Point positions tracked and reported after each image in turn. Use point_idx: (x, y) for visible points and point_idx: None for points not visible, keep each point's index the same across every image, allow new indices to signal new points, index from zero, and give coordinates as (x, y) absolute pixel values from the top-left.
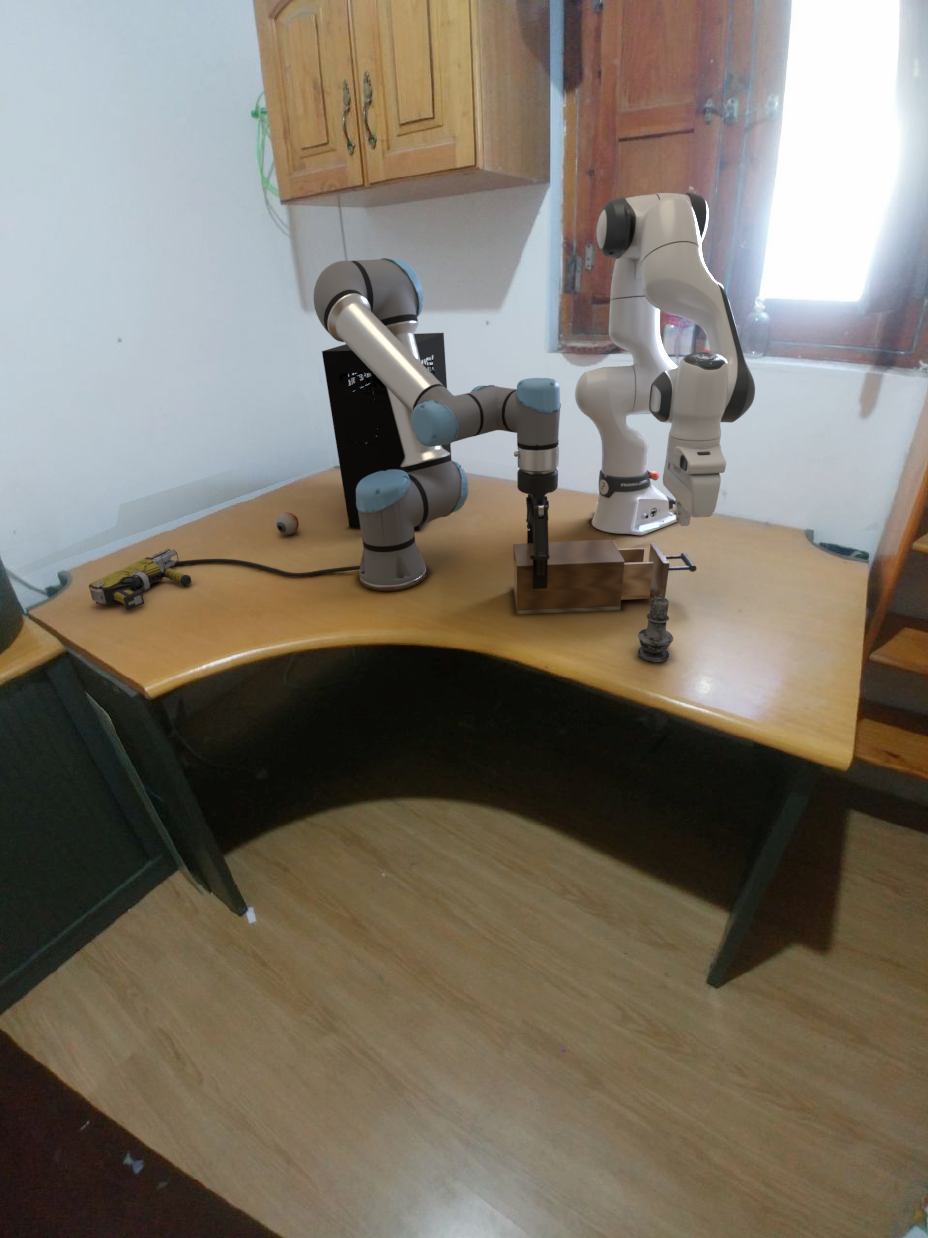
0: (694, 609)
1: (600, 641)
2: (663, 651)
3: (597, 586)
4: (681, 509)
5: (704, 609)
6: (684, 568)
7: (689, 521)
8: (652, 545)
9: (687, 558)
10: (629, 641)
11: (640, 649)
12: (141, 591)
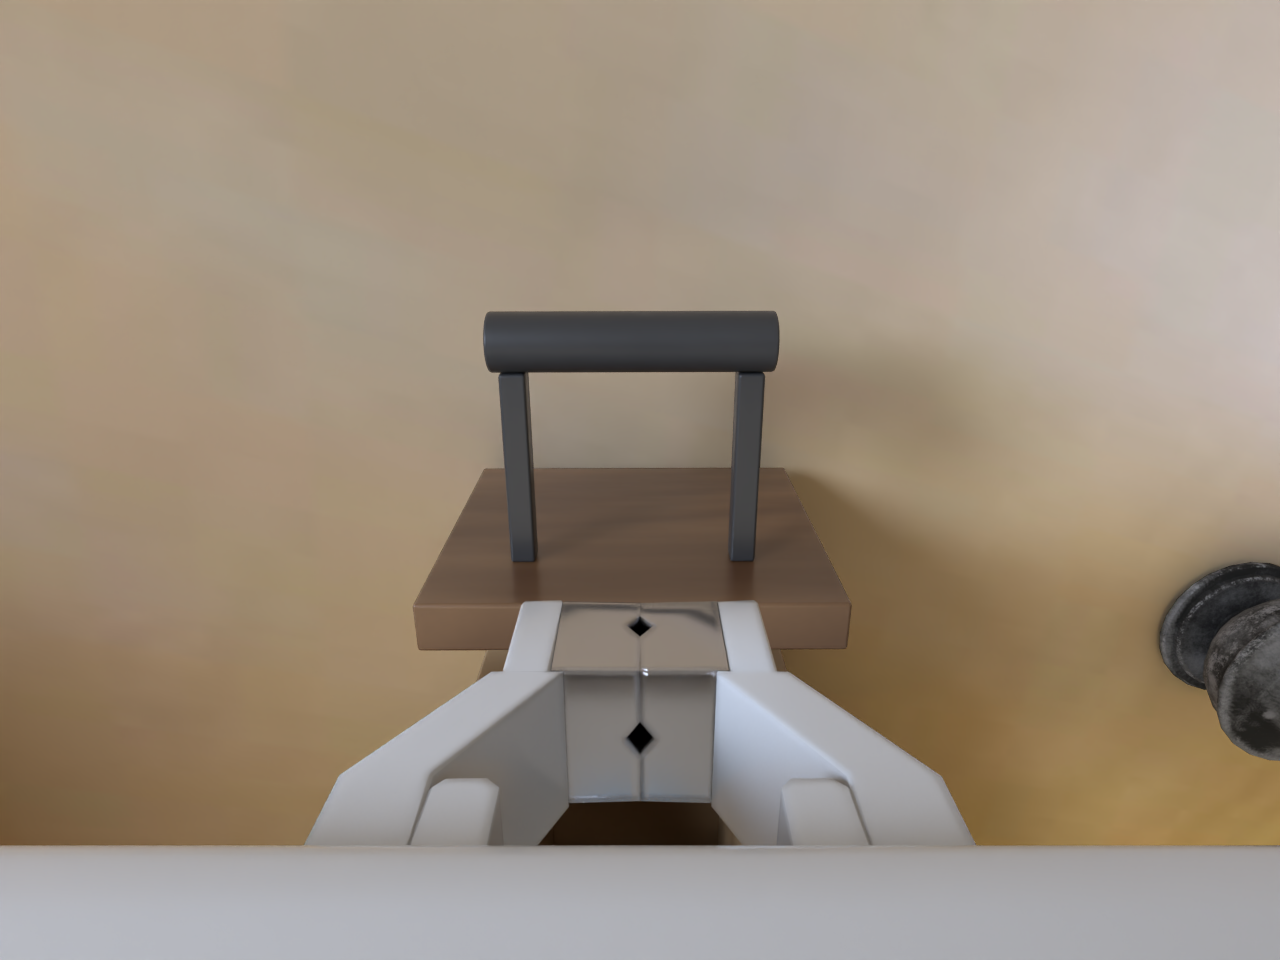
0: (838, 284)
1: (1049, 801)
2: (1265, 594)
3: None
4: (530, 785)
5: (850, 219)
6: (760, 412)
7: (763, 627)
8: (460, 644)
9: (614, 352)
10: (1085, 694)
11: (1204, 682)
12: None
